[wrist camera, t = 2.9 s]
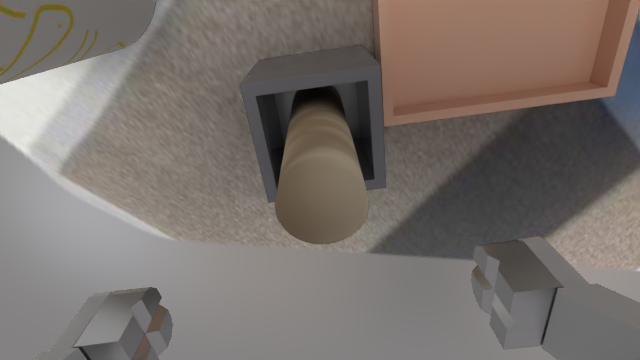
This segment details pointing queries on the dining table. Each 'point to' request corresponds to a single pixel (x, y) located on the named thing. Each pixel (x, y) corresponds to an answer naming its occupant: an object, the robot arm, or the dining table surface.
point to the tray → (496, 54)
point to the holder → (310, 72)
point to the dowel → (320, 171)
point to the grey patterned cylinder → (65, 32)
